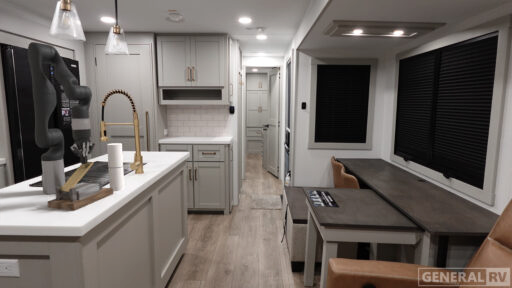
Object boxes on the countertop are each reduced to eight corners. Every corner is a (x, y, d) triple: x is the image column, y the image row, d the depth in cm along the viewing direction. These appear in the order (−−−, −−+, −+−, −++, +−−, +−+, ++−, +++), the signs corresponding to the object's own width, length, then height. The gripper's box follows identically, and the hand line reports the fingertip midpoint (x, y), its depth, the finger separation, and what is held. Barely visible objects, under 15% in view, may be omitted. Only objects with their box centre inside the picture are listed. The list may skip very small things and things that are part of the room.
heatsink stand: (48, 207, 125) (46, 188, 124) (90, 191, 149) (89, 175, 147) (74, 210, 123) (72, 190, 121) (113, 193, 146) (112, 177, 144)
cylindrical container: (108, 191, 150) (105, 145, 147) (111, 187, 157) (108, 143, 153) (123, 190, 152) (120, 144, 148) (125, 186, 159) (122, 143, 155)
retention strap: (60, 191, 126) (58, 189, 125) (85, 163, 139) (83, 161, 138) (70, 192, 125) (68, 190, 124) (93, 163, 138) (92, 161, 137)
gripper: (85, 126, 140) (88, 160, 142) (62, 129, 127) (65, 166, 130) (98, 127, 139) (101, 161, 141) (76, 129, 126) (79, 167, 128)
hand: (84, 163), depth 135 cm, fingers closed
